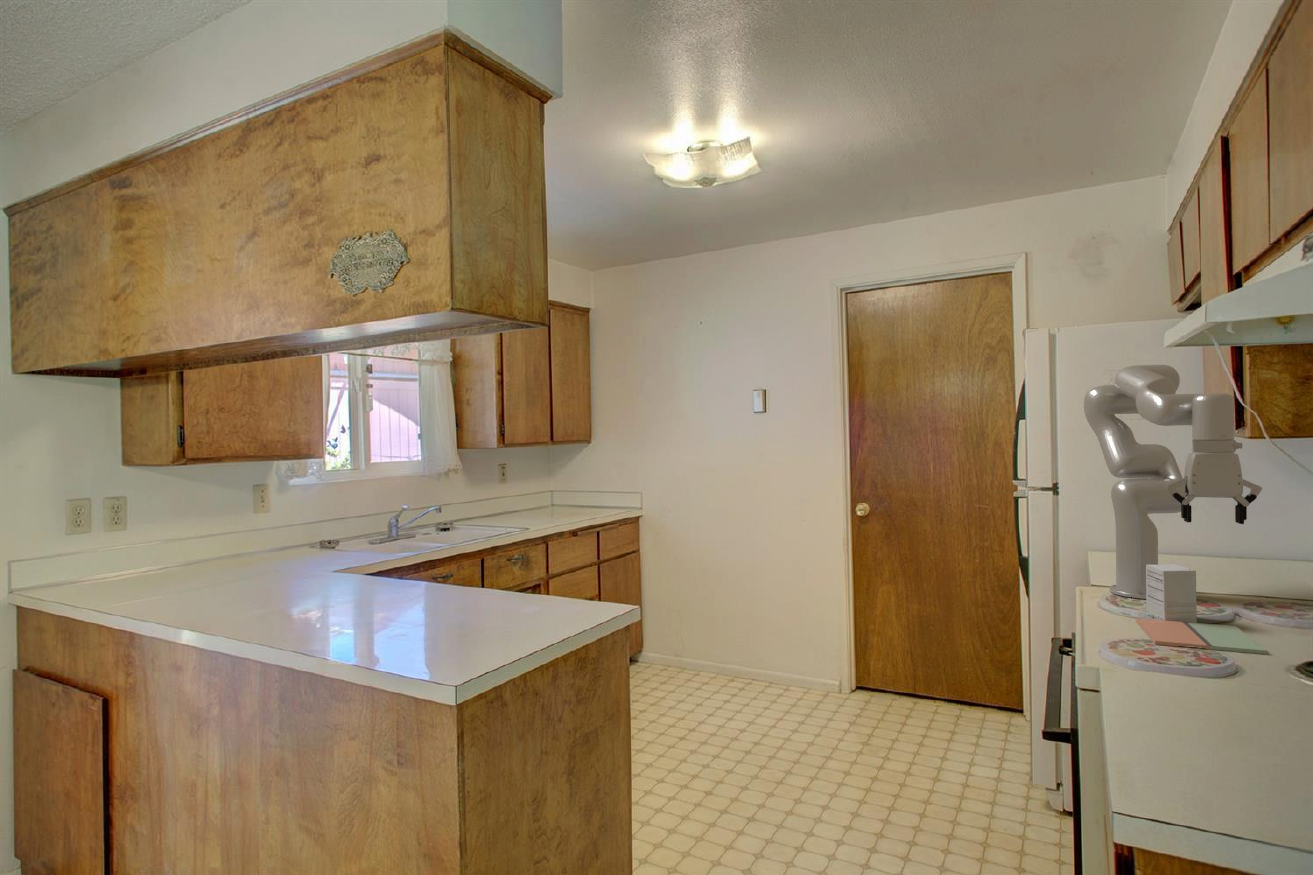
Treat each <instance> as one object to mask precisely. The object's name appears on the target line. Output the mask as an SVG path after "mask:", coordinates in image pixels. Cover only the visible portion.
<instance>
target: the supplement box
mask: <svg viewBox="0 0 1313 875" xmlns="http://www.w3.org/2000/svg"><path fill="white" fill-rule="evenodd" d="M1145 600H1146V601H1145V602H1146V612H1147V611H1149V612H1151V613H1153V614H1154V615H1155V616H1156V617H1157V618H1158V620H1164V621H1177V622H1190V623H1198V621H1197V620H1198V619H1197V618H1198V617H1197V616H1198V615H1197V611H1198V610H1197V570H1195V569H1192V568H1189V567H1186V566H1182V565H1180V564H1175V563H1173V564H1170V563H1169V564H1158V565H1146V599H1145Z"/></svg>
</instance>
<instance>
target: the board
mask: <svg viewBox="0 0 1313 875" xmlns="http://www.w3.org/2000/svg"><path fill="white" fill-rule="evenodd" d="M1135 623H1136V624H1137V625H1138V626H1139V627H1140V628H1141V630H1142V631H1143V632H1144V633H1145V634H1146V636H1147V637H1148V638H1149V640H1150V641H1151V642H1152V643H1153V644H1154V645H1157V646H1167V647H1168V646H1169V647H1178V646H1194V647H1201V648H1206V649H1205V650H1212V651H1213V650H1214V651H1224V652H1236V653H1246V654H1258V655H1268V649H1266V648H1265V647H1263V646H1262V645H1261V644H1259V643H1258V642H1257V641H1255V640H1254V639H1253V638H1252V637H1250V636H1249V635H1248V634H1246V633H1245V632H1244V631H1243V630H1241V629H1240V628H1239V627H1237V626H1236V625H1227V624H1212V623H1201V622H1200V623H1199V622H1197V623H1190V622H1177V621H1164V620H1156V619H1148V618H1139V617H1138V618H1136V617H1135Z"/></svg>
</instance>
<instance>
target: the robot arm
mask: <svg viewBox="0 0 1313 875" xmlns="http://www.w3.org/2000/svg"><path fill="white" fill-rule="evenodd" d="M1180 383H1181V380H1180V375H1179V373H1178V371H1177V370H1176V369H1175V368H1174V367H1173V366H1170V365H1167V364H1143V365H1142V364H1141V365H1140V364H1138V365H1129V366H1127V367H1123V368H1122V369H1120V370H1119V371H1118V372H1117V373H1116V374H1115V377H1114V384H1107V385H1105V384H1104V385H1099V386H1095V387H1093V388H1090V389H1089V390H1088V391H1087V392H1086V393H1085V395H1084V397H1083V398H1084V399H1083V411H1084V415H1085V417H1086V418H1085V419H1086V421H1087V423H1088V424H1089V426H1090V428H1091V429H1092V431H1093V432H1094V435H1095V436H1096V437H1097V440H1098V442H1099V446H1100V448H1101V451H1102V452H1101V453H1102V455H1103V457H1104V461H1105V463H1106V466H1107V469H1108V471H1109V472H1110V474H1111V475H1112V476H1114V477H1116V478H1119V479H1121V480H1119V481H1117V482H1115V483H1114V484H1113V486H1112V488H1111V491H1110V497H1111V503H1112V507H1113V512H1114V520H1115V521H1114V522H1115V583H1116V584H1113V585H1110V586H1109V592H1111V593H1112V594H1114V595H1118V596H1121V597H1126V598H1131V597H1132V599H1142V600H1143V599H1144V600H1146V565H1159V533H1158V532H1159V531H1158V528H1157V526H1156V525H1155V523H1154V522H1153V520H1152V519H1151V518H1150V516H1149V515H1151V514H1177V513H1180V514H1181V515H1180V517H1181V519H1183V521H1184V522H1186V523H1192V505H1191V504H1190V503H1191V502H1192V501H1193V500H1194V499H1195V498H1212V499H1213V498H1216V499H1217V498H1218V499H1219V498H1223V499H1233V500H1234V501H1235V502H1236V503H1237V504H1236V505H1234V506H1235V507H1234V513H1235V514H1234V515H1235V517H1234V518H1235V520H1234V521H1235V523H1237V524H1240V525H1244V524H1245V521H1247V518H1248V517H1247V516H1248V514H1247V513H1248V511H1247V510H1248V509H1247V508H1248V507H1249V505H1250V504H1252V502H1254V501H1255V500H1256V499H1257V497H1258V496H1259V494H1260V493H1261V491H1262V489H1263V487H1262V486H1260V485H1257V484H1255V483H1254V482H1251V481H1249V480H1246V479H1244V477H1243V471H1242V467H1241V460H1240V458H1239V454H1238V453H1235V452H1236V450H1238V449H1242V448H1243V443H1242V442H1238V441H1236V440H1235V399H1234V397H1233V395H1231V394H1228V393H1177V391H1178V389H1179V388H1180ZM1126 414H1127V415H1134V414H1135V415H1137V414H1139V415H1140V417H1141V418H1142V419H1144V420H1146V421H1148V422H1150V423H1151V424H1154V425H1157V426H1165V427H1170V426H1171V427H1173V426H1191V428H1192V430H1191V432H1192V433H1191V435H1192V436H1191V438H1192V439H1191V441H1192V446H1191V447H1192V449H1191V450H1192V451H1191V453H1187V457H1186V460H1185V467H1184V476H1183V475H1182V472H1181V470H1180V467H1179V465H1178V462H1177V460H1176V458H1175V455H1174V454H1173V451H1171V450H1170V449H1169V448H1168V447H1167V446H1165V445H1162V444H1157V443H1153V444H1151V443H1149V444H1147V443H1145V444H1142V443H1138V441H1137V440H1136V439H1135V436H1134V433H1133V430H1132V428H1130V426H1129V425H1128V424H1127V423H1125V422H1124V420H1121V419H1120V418H1118V417H1117V416H1116V415H1126ZM1244 487H1246V488H1248V489H1250V492H1249V493H1248V494H1247V495H1246V496H1243V493H1244Z"/></svg>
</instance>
